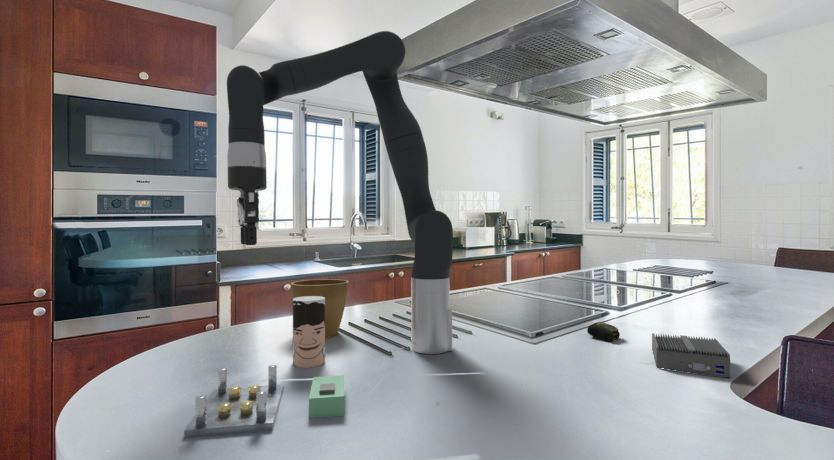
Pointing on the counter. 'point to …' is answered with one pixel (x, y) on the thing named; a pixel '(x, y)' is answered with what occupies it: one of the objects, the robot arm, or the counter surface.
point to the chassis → (236, 408)
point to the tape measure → (603, 331)
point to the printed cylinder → (308, 331)
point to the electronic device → (691, 355)
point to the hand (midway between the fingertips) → (248, 244)
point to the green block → (327, 396)
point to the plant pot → (326, 299)
